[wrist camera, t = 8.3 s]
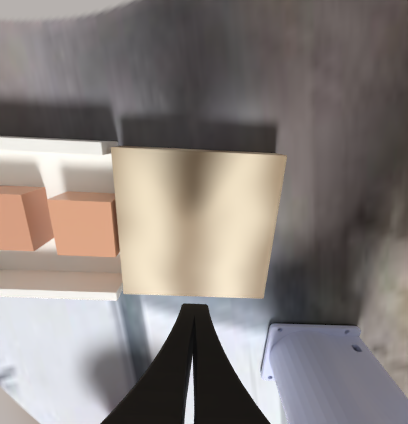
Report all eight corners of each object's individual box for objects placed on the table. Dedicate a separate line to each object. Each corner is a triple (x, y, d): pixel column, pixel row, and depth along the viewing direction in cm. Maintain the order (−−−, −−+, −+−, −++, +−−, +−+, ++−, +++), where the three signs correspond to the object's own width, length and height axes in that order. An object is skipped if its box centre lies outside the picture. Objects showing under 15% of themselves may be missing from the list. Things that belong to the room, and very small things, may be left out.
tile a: (122, 193, 18) (110, 202, 16) (126, 242, 19) (115, 257, 17) (67, 191, 18) (46, 199, 15) (75, 240, 19) (57, 255, 17)
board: (275, 153, 17) (287, 155, 15) (256, 280, 21) (263, 298, 19) (123, 145, 17) (110, 147, 15) (132, 276, 21) (123, 293, 19)
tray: (117, 141, 17) (101, 142, 14) (128, 278, 21) (117, 300, 18) (-51, 133, 17) (-103, 132, 14) (-7, 273, 21) (-41, 295, 18)
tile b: (45, 187, 18) (20, 194, 15) (54, 237, 19) (33, 251, 17) (-12, 184, 18) (-45, 191, 15) (2, 235, 19) (-26, 249, 17)
